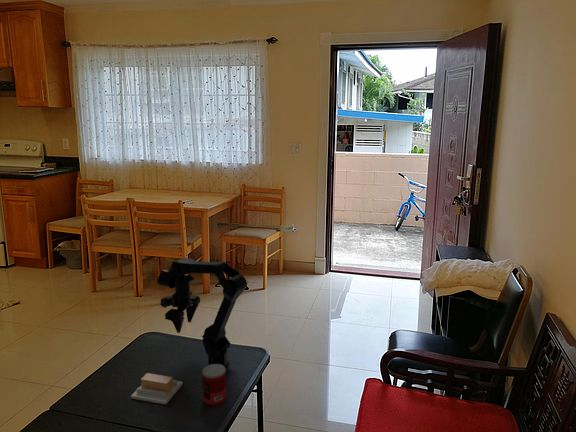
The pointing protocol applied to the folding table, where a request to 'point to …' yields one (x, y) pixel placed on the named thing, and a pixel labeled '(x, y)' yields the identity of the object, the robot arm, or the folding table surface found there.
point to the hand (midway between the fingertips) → (184, 327)
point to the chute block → (157, 382)
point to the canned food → (214, 384)
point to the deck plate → (156, 394)
